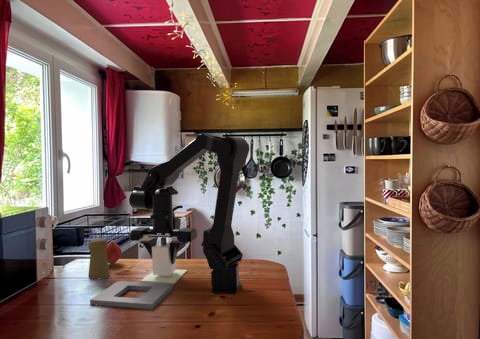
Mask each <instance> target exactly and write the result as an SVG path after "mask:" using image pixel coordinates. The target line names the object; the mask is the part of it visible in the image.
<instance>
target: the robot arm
mask: <svg viewBox="0 0 480 339" xmlns="http://www.w3.org/2000/svg"><path fill="white" fill-rule="evenodd" d="M207 152H210V153H214V154H216V161H217V163H218V167H219V170H220V173H219V180H218V187H217V195H216V200H215V207H214V215H213V221H212V225H211V228H207V229H205V230H204V231H203V234H202V242H201V245H200V246H201V247H202V253H203V255H204V256H205V259H206V261H207V265H208V267H209V269H211V272H210V279H211V280H210V281H211V282H210V283H211V287H212V288H211V292H212V293H224V294H237V292H238V290H239V288H240V286H241V285H242V283H241V281H240V268H239V267H240V266H239V265H240V263H239V262H242V260H243V256H244V254H243V252H241V250H240V249H239V248H238V247H237V246H236V245H235V233H234V230H233V227H232V223H233V216H234V209H235V204H236V203H235V202H236V198H237V190H238V185H239V184H238V183H239V177H240V176H239V175H240V173H241V171H242V169H243V167H244V166H245V164H246V162H247V159H248V156H249V153H250V145H249V143H248V141H247V140H246V139H245V138H243V137H240V136H239V137H238V136H224V137H222V136H218V135H213V134H211V133H200V134H197V135H196V137H195V139H194V140H192V141H191V142H189V143H188V144H187V145H185V147H184V148H182V149H181V150H180V151H178V152H177V153H176V154H175V155H174V156H172V157H171V158H169V160H167V161H163V162H161V163H158V164H156V165H155V166H153V167H150V168H149V169H148V170H147V172H146V174H147V175H146V176H145V178H144V181H143V183H142V184H141V185H136V186H135V185H134V187H133V191H131V193H130V195H129V198H128V202H129V205H130V206H131V208H133V209H139V210H151V211H152V212H151V213H152V214H151V215H150V217H149V218H150V219H151V220H152V228H150V227H149V226H148V227H147V226H144V227H143V226H139V227H136V228H134V229H131V230H130V232H129V234H128V235H129V241H133V242H134V241H137V242H139V244H142V245H143V247H144V248H145V250H146V251H147V252H148V254H149V255H150V258H151V259H152V247H153V246H155V245H156V244H158V239H159V238H164V237H165V238H167V239H168V238H170V239H171V238H172V241H170V242H169V243H170V257H171V263H172V264H174V262H175V259H176V260H177V255H178V252H179V248H180V247H181V244H183V243H191V242H193V241H194V240H196V238H197V237H198V231H197V229H196V228H195V227H183V228H181V223H182V222H181V221H182V219H181V218H179V217H176V214H175V213H176V212H175V211H173V196H175V195H178V194H179V191H178V190H177V189H175V188H174V187H173V184H174V183H175V182H176V181H177V179H179V178H180V176H181V173H182V171H185V170H184V169H186V168H187V167H189V166H190V165H191V164H193V163H194V162H196V161H197V160H198V159H199V158H201V157H202V156H204V154H205V153H207ZM140 240H141V241H140Z"/></svg>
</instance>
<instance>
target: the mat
mask: <svg viewBox="0 0 480 339" xmlns="http://www.w3.org/2000/svg"><path fill="white" fill-rule="evenodd" d="M187 272H188V269H179V268H176V270H175V271H174V272H173V273H172V274H171V275H169V276H166V275H153V271H151V272H150V273H148V274H147V275H145V277H144V278H142V279H141V280H140V282H147V283H165V284H173V285H174V284H176V283H177V282H178V281H179V280H180V279H181V278H182V277H183V276H184V275H185V274H186V273H187Z"/></svg>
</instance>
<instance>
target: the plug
mask: <svg viewBox="0 0 480 339" xmlns="http://www.w3.org/2000/svg"><path fill="white" fill-rule="evenodd" d="M151 259H152V261H151V262H152V263H151V264H152V265H151V266H152V272H153V275H166V276H169V275H171V274H172V273H173V272H174V271H175V270H176V269H177V258H176V259H175V262H174V264H172V263H171V257H170V242H167V237H160V242H157V244H156V245H155V246H153V247H152V258H151Z"/></svg>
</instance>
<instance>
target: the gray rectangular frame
mask: <svg viewBox="0 0 480 339" xmlns="http://www.w3.org/2000/svg"><path fill="white" fill-rule="evenodd" d="M173 289H174V284H168V283H150V282H141V281H128V280H118V281H116V282H115V283H113V284H112V285H110V286H108V287H107V288H105V289H104V290H102V291H101V292H100V293H98V294H96V295H94V297H92V298H91V299H89V305H90V304H97V305H96V306H101V305H105V306H104V307H114V306H117V308H129V309H130V308H131V309H143V310H145V309H146V310H153V309H155V307H156V306H157V305H158V304H159V303H160V302H161V301H163V299H164V298H165V297H166V296H168V294H170V292H171V291H173ZM127 290H128V291H143V292H144V291H145V293H143V295H142V296H140V297H124V296H122V295H124V294H125V293H126V292H128V291H127ZM123 293H124V294H123ZM120 295H121V296H120ZM119 296H120V297H119Z"/></svg>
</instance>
